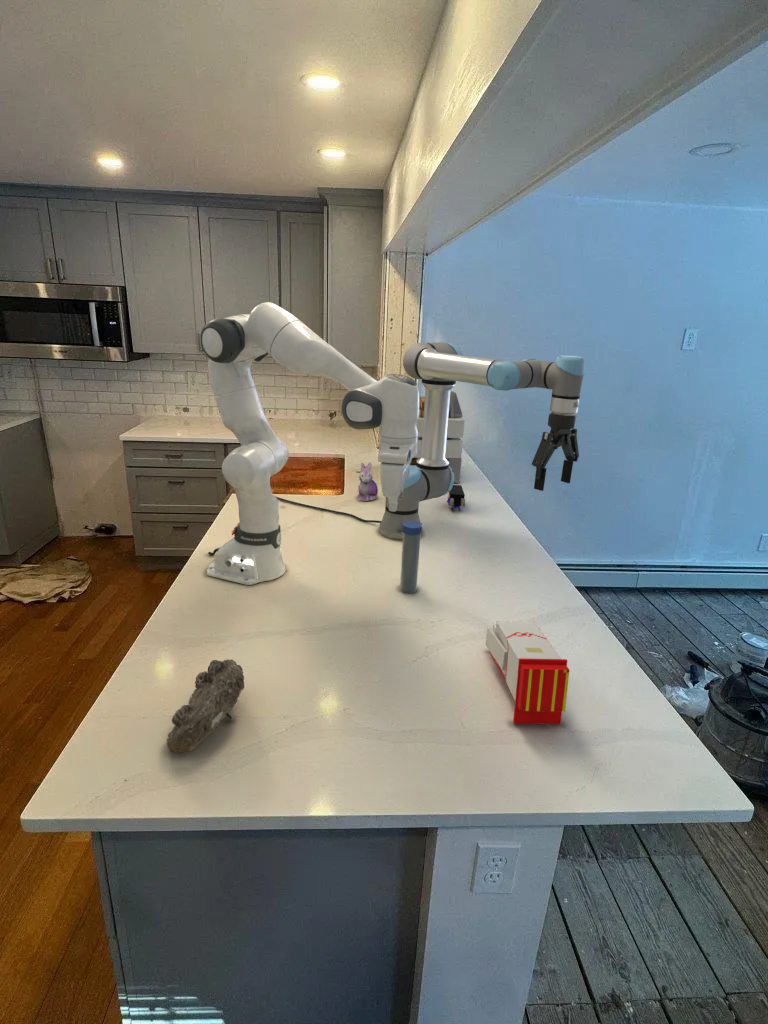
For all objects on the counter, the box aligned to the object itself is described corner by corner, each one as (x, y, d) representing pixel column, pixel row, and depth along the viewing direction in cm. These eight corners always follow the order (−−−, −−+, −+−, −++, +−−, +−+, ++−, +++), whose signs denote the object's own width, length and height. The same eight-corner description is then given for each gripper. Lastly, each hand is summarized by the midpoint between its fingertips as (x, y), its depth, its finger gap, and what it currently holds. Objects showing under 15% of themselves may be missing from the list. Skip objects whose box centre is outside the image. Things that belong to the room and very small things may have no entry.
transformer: (382, 463, 289) (386, 382, 275) (445, 464, 293) (451, 384, 279) (390, 482, 257) (394, 392, 243) (460, 483, 261) (468, 394, 247)
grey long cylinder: (397, 586, 162) (400, 524, 156) (412, 584, 164) (416, 522, 157) (404, 594, 158) (408, 530, 151) (419, 591, 160) (424, 528, 153)
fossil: (192, 660, 117) (244, 628, 112) (224, 691, 120) (276, 661, 115) (142, 746, 98) (202, 712, 93) (182, 779, 101) (242, 748, 96)
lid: (399, 529, 156) (399, 522, 156) (416, 527, 158) (416, 520, 158) (407, 536, 152) (407, 529, 151) (425, 533, 154) (425, 527, 153)
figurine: (362, 503, 229) (363, 467, 224) (351, 495, 238) (352, 460, 232) (383, 500, 233) (384, 465, 228) (372, 493, 242) (373, 459, 237)
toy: (532, 606, 134) (578, 666, 105) (527, 658, 137) (571, 730, 108) (481, 605, 134) (513, 664, 105) (478, 657, 137) (508, 730, 107)
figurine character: (465, 515, 224) (460, 499, 237) (467, 498, 221) (462, 483, 234) (448, 515, 224) (444, 499, 237) (450, 498, 220) (445, 482, 234)
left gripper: (391, 437, 141) (390, 490, 145) (376, 456, 122) (375, 517, 126) (417, 438, 140) (414, 492, 144) (405, 458, 121) (403, 519, 125)
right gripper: (548, 419, 148) (537, 496, 155) (598, 411, 163) (586, 482, 171) (525, 414, 153) (515, 489, 160) (575, 407, 169) (564, 476, 176)
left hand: (396, 504), depth 135 cm, fingers open, 8 cm apart
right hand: (552, 485), depth 166 cm, fingers open, 13 cm apart
